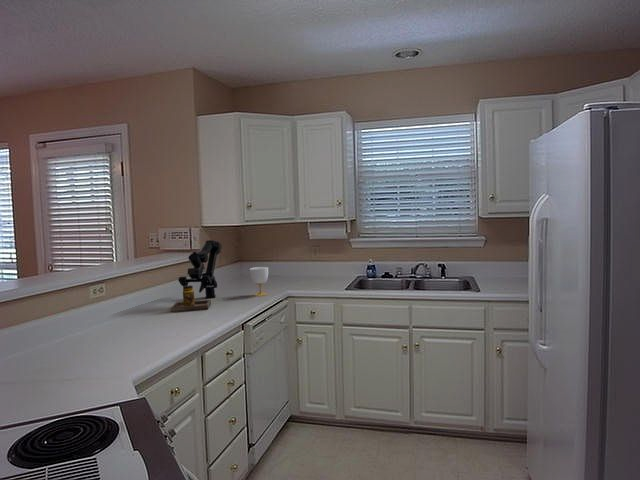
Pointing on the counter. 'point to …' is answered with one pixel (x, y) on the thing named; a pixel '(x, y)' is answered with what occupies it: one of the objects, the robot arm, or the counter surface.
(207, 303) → the tray
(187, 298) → the condiment
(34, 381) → the counter surface
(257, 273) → the cup
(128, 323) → the counter surface
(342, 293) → the counter surface
